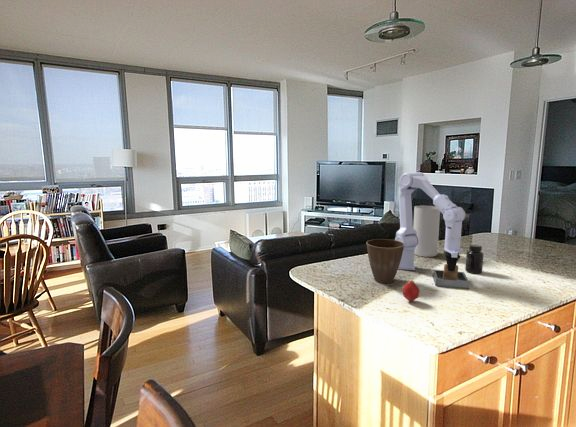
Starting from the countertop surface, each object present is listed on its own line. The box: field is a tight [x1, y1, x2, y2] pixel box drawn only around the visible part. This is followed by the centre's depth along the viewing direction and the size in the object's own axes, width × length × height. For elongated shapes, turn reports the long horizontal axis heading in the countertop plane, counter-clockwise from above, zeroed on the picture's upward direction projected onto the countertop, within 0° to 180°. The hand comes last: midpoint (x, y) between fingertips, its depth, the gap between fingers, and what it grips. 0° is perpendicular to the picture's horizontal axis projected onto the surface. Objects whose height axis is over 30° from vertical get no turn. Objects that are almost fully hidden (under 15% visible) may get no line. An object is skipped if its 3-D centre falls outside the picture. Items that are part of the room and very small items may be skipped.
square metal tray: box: [432, 269, 470, 290], centre depth 145 cm, size 12×12×3 cm
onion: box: [401, 279, 420, 303], centre depth 126 cm, size 6×6×8 cm
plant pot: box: [366, 238, 404, 284], centre depth 147 cm, size 15×15×16 cm
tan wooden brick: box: [443, 263, 459, 279], centre depth 144 cm, size 5×2×6 cm, turn 73°
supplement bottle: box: [464, 244, 485, 275], centre depth 158 cm, size 7×7×12 cm
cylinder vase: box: [413, 205, 441, 258], centre depth 186 cm, size 12×12×25 cm
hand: (450, 270), depth 144 cm, fingers closed on tan wooden brick, 1 cm apart
